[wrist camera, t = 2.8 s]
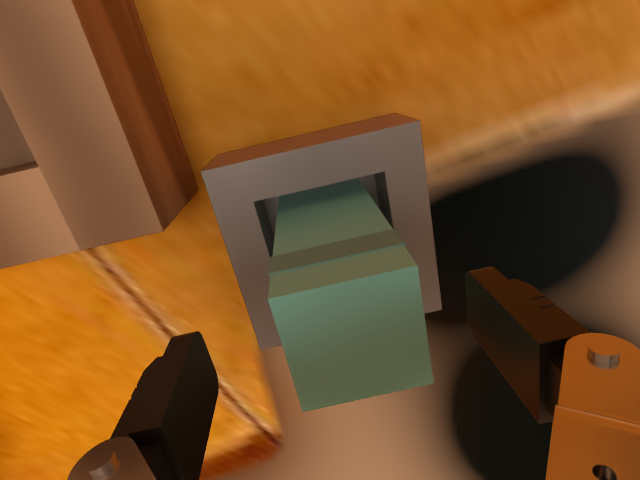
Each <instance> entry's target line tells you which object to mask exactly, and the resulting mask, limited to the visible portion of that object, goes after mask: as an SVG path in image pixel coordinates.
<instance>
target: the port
mask: <svg viewBox="0 0 640 480" xmlns="http://www.w3.org/2000/svg"><path fill="white" fill-rule="evenodd" d="M197 191H198V188H197V185H196V182H195V179H194V176H193V173H192V170H191V167H190V164H189V162H188V159H187V156H186V153H185V150H184V147H183V144H182V141H181V138H180V135H179V133H178V130H177V127H176V124H175V121H174V118H173V115H172V112H171V109H170V107H169V104H168V101H167V98H166V95H165V92H164V89H163V86H162V83H161V81H160V78H159V75H158V72H157V69H156V66H155V63H154V60H153V57H152V55H151V52H150V49H149V46H148V43H147V40H146V37H145V34H144V31H143V29H142V26H141V23H140V20H139V17H138V14H137V11H136V8H135V5H134V3H133V0H0V269H2V268H6V267H11V266H15V265H19V264H24V263H28V262H32V261H37V260H41V259H45V258H50V257H54V256H58V255H63V254H67V253H72V252H76V251H80V250H85V249H89V248H93V247H98V246H102V245H106V244H111V243H115V242H119V241H124V240H128V239H132V238H137V237H141V236H145V235H150V234H154V233H158V232H163V231H164V230H165V229H166V228H167V226H168V225H169V224H170V223H171V222H172V221H173V219H174V218H175V217H176V216H177V215H178V213H179V212H180V211H181V210H182V209H183V208H184V206H185V205H186V204H187V203H188V202H189V201H190V199H191V198H192V197H193V196H194V195H195V193H196V192H197Z"/></svg>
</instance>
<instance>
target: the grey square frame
mask: <svg viewBox="0 0 640 480" xmlns="http://www.w3.org/2000/svg"><path fill="white" fill-rule="evenodd" d="M201 174H202V177H203V180H204V183H205V186H206V189H207V192H208V195H209V198H210V201H211V204H212V207H213V210H214V213H215V215H216V218H217V221H218V224H219V227H220V230H221V233H222V236H223V239H224V242H225V245H226V248H227V251H228V254H229V257H230V260H231V263H232V266H233V269H234V272H235V275H236V278H237V281H238V284H239V287H240V290H241V293H242V295H243V298H244V301H245V304H246V307H247V310H248V313H249V316H250V319H251V322H252V325H253V328H254V331H255V334H256V337H257V340H258V343H259V346H260V349H261V350H263V349H268V348H272V347H277V346H281V345H282V343H281V340H280V337H279V333H278V330H277V327H276V324H275V320H274V317H273V314H272V311H271V308H270V304H269V301H268V293H269V284H270V277H269V274H268V273H269V265H270V257H272V256H273V247H274V238H275V229H276V219H277V210H278V201H279V196H282V195H287V194H291V193H295V192H299V191H304V190H308V189H312V188H317V187H321V186H325V185H330V184H334V183H338V182H343V181H347V180H351V179H356V178H358V179H359V180H360V182H361V183H362V185H363V186H364V188H365V189H366V190H367V192H368V193H369V195H370V196H371V198H372V199H373V201H374V202H375V204H376V205H377V207H378V208H379V209H380V211H381V212H382V214H383V215H384V217H385V218H386V220H387V221H388V223H389V224H390V226H391V227H392V229H396V231H397V232H398V234H399V235H400V236H401V238H402V239H403V241H404V242H405V246H406V249H407V251H408V252H409V253H410V255H411V256H412V258H413V259H414V261H415V262H416V264H417V265H418V272H419V279H420V287H421V294H422V301H423V308H424V314H425V313H428V312H434V311H438V310H442V305H441V297H440V288H439V280H438V272H437V263H436V254H435V246H434V238H433V228H432V220H431V212H430V203H429V194H428V186H427V177H426V169H425V160H424V151H423V143H422V134H421V126H420V120H416V119H413V118H410V117H407V116H404V115H400V114H397V113H393V114H389V115H385V116H381V117H376V118H372V119H368V120H363V121H359V122H355V123H351V124H346V125H342V126H338V127H333V128H329V129H325V130H321V131H316V132H312V133H308V134H304V135H299V136H295V137H291V138H286V139H282V140H278V141H274V142H269V143H265V144H261V145H256V146H252V147H248V148H244V149H239V150H235V151H231V152H227V153H222V154H218V155H217V156H216V157H215V158H214V159H213V160H212V161H211V162H210V163H209V164H208V165H207V166H206V167H205V168H204V169H203V170H202V171H201Z"/></svg>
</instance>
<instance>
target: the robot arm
mask: <svg viewBox="0 0 640 480" xmlns="http://www.w3.org/2000/svg"><path fill="white" fill-rule="evenodd" d="M465 290H466V302H467V315H468V322H469V325H470V328H471V331H472V333H473V335H474V337H475V338H476V339H477V341H478V342H479V344H480V345H481V346H482V348H483V349H484V350H485V352H486V353H487V354H488V356H489V357H490V358H491V360H492V361H493V363H495V365H496V367H497V368H498V369H499V371H500V372H501V373H502V374H503V376H504V377H505V379H506V380H507V381H508V383H509V384H510V385H511V387H512V388H513V389H514V391H515V392H516V393H517V395H518V396H519V398H520V399H521V400H522V402H524V404H525V406H526V407H527V408H528V410H529V411H530V412H531V413H532V415H533V416H534V418H535V419H536V420H537V422H538V423H539V424H542V423H547V422H551V421H553V427H552V436H551V443H550V451H549V458H548V466H547V474H546V480H640V350H639V349H638V348H636V347H635V346H634V345H633V344H631V343H629V342H627V341H625V340H623V339H621V338H618V337H615V336H611V335H607V334H600V333H590V332H588V331H587V330H586V329H585V328H584V327H583V326H581V325H580V324H579V323H578V322H576V321H575V320H574V319H573V318H572V317H570V316H569V315H568V314H567V313H565V312H564V311H563V310H562V309H560V308H559V307H558V306H555V304H554V303H553V302H552V301H551V300H550V299H548V298H547V297H546V298H545V296H544V295H543V294H542V293H541V292H540V291H539V290H537V289H536V288H535V287H534V286H532V285H530V284H527V283H525V282H522V281H520V280H517V279H511V280H508V279H507V278H506V277H504V276H503V275H502V274H501V273H500V272H499V271H498V270H496V269H495V268H494V267H487V268H483V269H478V270H474V271H469V272H466V274H465ZM218 388H219V387H218V378H217V373H216V370H215V368H214V365H213V363H212V360H211V357H210V355H209V352H208V349H207V347H206V344H205V342H204V339H203V337H202V335H201V333H200V332H198V331H196V332H192V333H187V334H183V335H178V336H174V337H172V338H171V340H170V342H169V344H168V346H167V348H166V350H165V353H164V355H163V356H162V357H157V358H156V359H155V360H154V361H153V362H152V363H151V364H150V365H149V366H148V367H147V368H146V369H145V370H144V372H143V374H142V376H141V378H140V380H139V382H138V384H137V388H135V390H134V392H133V394H132V396H131V399H130V400H129V402H128V404H127V406H126V408H125V410H124V412H123V414H122V416H121V418H120V420H119V422H118V424H117V426H116V428H115V430H114V432H113V434H112V436H111V438H110V439H109V440H106V441H104V442H102V443H100V444H98V445H97V446H95V447H94V448H92V449H91V450H89V451H88V452H87V453H86V454H85V455H84V456H83V457H82V458H81V459H80V460H79V461H78V462H77V463H76V464H75V466H74V467H73V469H72V470H71V472H70V474H69V477H68V480H199V477H200V473H201V468H202V464H203V459H204V455H205V450H206V446H207V441H208V437H209V432H210V428H211V423H212V419H213V414H214V410H215V405H216V401H217V397H218Z"/></svg>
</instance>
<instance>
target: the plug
mask: <svg viewBox="0 0 640 480" xmlns="http://www.w3.org/2000/svg"><path fill="white" fill-rule="evenodd" d="M268 274H269V277H270V284H269V293H268V301H269V304H270V308H271V311H272V314H273V317H274V320H275V324H276V327H277V330H278V333H279V337H280V340H281V343H282V346H283V349H284V352H285V356H286V359H287V362H288V366H289V369H290V372H291V375H292V378H293V381H294V385H295V388H296V391H297V395H298V398H299V401H300V404H301V407H302V411H303V412H305V411H310V410H314V409H319V408H323V407H328V406H333V405H337V404H341V403H346V402H351V401H355V400H360V399H364V398H369V397H373V396H378V395H382V394H387V393H392V392H396V391H401V390H405V389H409V388H414V387H419V386H423V385H428V384H433V383H434V381H433V374H432V366H431V359H430V352H429V345H428V337H427V330H426V323H425V316H424V308H423V301H422V294H421V287H420V279H419V272H418V265H417V264H416V262H415V261H414V259H413V258H412V256H411V255H410V253H409V252H408V251H407V249H406V246H405V242H404V241H403V239H402V238H401V236H400V235H399V234H398V232H397V231H396V229H392V227H391V226H390V224H389V223H388V221H387V220H386V218H385V217H384V215H383V214H382V212H381V211H380V209H379V208H378V207H377V205H376V204H375V202H374V201H373V199H372V198H371V196H370V195H369V193H368V192H367V190H366V189H365V188H364V186H363V185H362V183H361V182H360V180H359V179H358V178H356V179H351V180H347V181H343V182H338V183H334V184H330V185H325V186H321V187H317V188H312V189H308V190H304V191H299V192H295V193H291V194H287V195H282V196H279V201H278V210H277V219H276V229H275V238H274V247H273V256H272V257H270V265H269V273H268Z"/></svg>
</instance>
